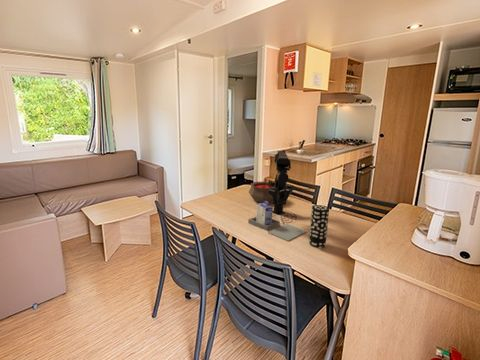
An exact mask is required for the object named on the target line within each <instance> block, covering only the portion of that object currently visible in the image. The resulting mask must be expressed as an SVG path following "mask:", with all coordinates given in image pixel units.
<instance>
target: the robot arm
mask: <svg viewBox="0 0 480 360" xmlns="http://www.w3.org/2000/svg"><path fill="white" fill-rule="evenodd" d="M273 161H274V163H275V164H274V165H275V169H276V173H277V174H276V179H275V181H272V180H271V181H267V182H268V187H270V188H271V187H274V188H272V189H269V190H268V194H270V195H272V197H273V202H272V205H274V206H273V210H272V214H273V213H274V214H277V215H282V214H284V213H286V211H284V206H286V205H287V200H288V198H289V197H290V195H291V194H292V192H293V191H294V190H295V186H294V185H292V184H288V183H289V174H288V171H291V167H292V166H291V165H292V164H291V160H290V159H289V157H288V155H287V154H286V151H285V150H279V151H277V153H276V154H274V160H273ZM275 188H277V189H275Z"/></svg>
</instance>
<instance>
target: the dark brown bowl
mask: <svg viewBox="0 0 480 360" xmlns="http://www.w3.org/2000/svg"><path fill="white" fill-rule="evenodd" d="M268 182H269V181H267V178H264V179H263V181H254V182H252V183H250V188H249V191H248V193H249V195H250V197H251V199H253V201H254V202H255V203H257V204H259V203H264V202H265V201H267V202H269V203H268V204H271V203H273V197H272V195H270V194H268V190H269V189H272V188H274V187H271V188H270V187H268ZM275 189H277V188H275ZM267 202H265V203H266V204H267Z"/></svg>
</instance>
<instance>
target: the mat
mask: <svg viewBox="0 0 480 360" xmlns="http://www.w3.org/2000/svg"><path fill="white" fill-rule="evenodd" d="M307 232H308V231H307V230H305V229H303V228H300V227H297V226H294V225H291V224H288V223H286V224H284V225H281V226H279V227H275V229H274V228H273V229H271V230H268V232H267V234H269V235H271V236H274V237H277V238H279V239H280V240H281V239H282V240H283V241H286V242H290V241H292V240H294V239H297V238H298V237H300V236H302V235H304V234H306V233H307Z"/></svg>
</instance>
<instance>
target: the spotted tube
mask: <svg viewBox="0 0 480 360" xmlns="http://www.w3.org/2000/svg"><path fill="white" fill-rule="evenodd" d="M310 214H311V217H310V227H309V228H310V229H309V238H308V244H309V245H310V246H311V247H313V248H317V249H319V248H320V249H322V248H325V247H326V246H327V245H326V243H327V235H328V234H327V233H328V224H329V214H330V207H329V206H326V205H321V204H315V205H314V204H313V205H312V206H311V213H310Z"/></svg>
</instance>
